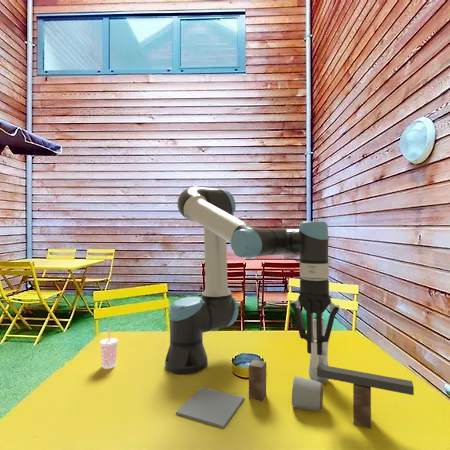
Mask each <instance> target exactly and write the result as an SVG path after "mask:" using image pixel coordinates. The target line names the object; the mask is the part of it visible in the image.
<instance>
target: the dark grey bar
mask: <svg viewBox="0 0 450 450" xmlns="http://www.w3.org/2000/svg"><path fill="white" fill-rule="evenodd" d="M317 377H322V378H327V379H329V380H332V381H339V382H343V383H344V382H345V383H348V384H349V383H350V384H358V385H363V386H368V387H371V388H374V389H380V390H385V391H389V392H395V393H400V394H404V395H405V394H406V395H409V396H414V394H415V392H414V391H415V389H414V388H415V387H414V383H413V381H412V380H409V379H404V378H403V379H402V378H397V377H391V376H385V375H381V374H375V373H369V372H363V371H359V370H352V369H347V368H341V367H335V366H330V365H328V366H325V365H320V364H319V365H318V368H317Z"/></svg>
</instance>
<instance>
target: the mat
mask: <svg viewBox="0 0 450 450" xmlns="http://www.w3.org/2000/svg"><path fill="white" fill-rule="evenodd" d="M244 401H245V397H244V396H240V395H236V394H232V393H227V392H224V391H220V390H215V389H213V388H212V389H211V388H207V387H203V386H201V387H200V388H199V389H198V390H197V391H196V392H195V393H194V394H193V395H191V396H190V398H189V399H187V401H186V402H184V403H183V405H181V406H180V407H179V408H178V409H177V410H176V411H175V414H176V416H177V415H178V416H180V417H184V418H187V419H191V420H195V421H197V422H202V423H203V424H207V425H211V426H214V427H217V428H220V429H224V428H226V426H227V425H228V423H229V422H230V420H232V417H233V416H234V415H235V413H236V412H237V410H238V409H239V408H240V406H241V405H242V403H244Z"/></svg>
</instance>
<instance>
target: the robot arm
mask: <svg viewBox="0 0 450 450" xmlns="http://www.w3.org/2000/svg"><path fill="white" fill-rule="evenodd" d="M236 207H237V206H236V200H235V199H234V196H233V194H232V193H231V192H230V191H228V190H227V189H222V188H220V187H219V188H214V187H202V186H201V187H200V186H191V187H187V188H186V189H184V190H183V191H182V192H181V193H180V195H178V199H177V208H178V211H179V213H180V215H182V217H184V219H187V220H189V221H191V222H197V223H198V224H200V225H201V226H202V227H203V229H204V232H203V234H204V235H203V237H204V241H203V242H204V274H205V275H204V277H205V278H204V279H205V280H204V281H205V283H204V284H205V289H204V291H202V292H201V297H199V296H187V297H182V298H180V299H176V300H175V301H173V302H172V304H170V310H169V347H168V349H167V354H166V356H165V360H164V367H165V370H166V371H168V372H169V373H172V374H175V375H184V376H185V375H193V374H196V373H200V372H201V371H204V370H205V369H206V368H207V366H208V355H207V352H206V349H205V346H204V343H203V342H204V341H203V334H204V333H207V332H212V331H215V330H218V329H224V328H227V327H229V326H232V325H233V324H234V323H235V322H236V320H237V318H238V316H239V304H238V302H237V299H236V298H235V296H233V295H232V291H231V290H230V289H229V288H228V287H229V286H228V258H227V256H228V252H227V251H228V249H227V243H229V244H230V247H231V250H232V251H233V254H234V255H235V256H237V257H239V258H247V259H248V258H249V259H252V258H254V257H255V258H257V257H266V256H278V255H280V256H281V255H293V256H296V255H297V256H299V276H300V279H299V296H298V298H297V299H296V300H293V301H291V303H290V304H289V305H290V308H291V310H292V311H293V314H294V318H295V321H296V326H297V329H298V333H299V337H300V339H301V340H305V341H306V351H307V354H311V367H312V368H317V367H318V364H319V358H318V355H321V354H322V352H323V351H322V343H323V342H328V340H329V341H330V337H331V333H332V329H333V325H334V322H335V318H336V317H335V316H336V315H337V313H338V312H339V310H340V305H338V304H335V303H333V302H332V299H331V297H330V282H329V279H328V278H329V277H330V276H329V275H330V271H329V270H330V269H329V266H330V265H329V264H330V263H329V241H330V240H329V239H330V236H329V227H328V223H327V222H325V221H322V220H321V221H320V220H319V221H311V220H310V221H308V220H307V221H301V222H300V223H299V228H281V227H280V228H257V227H254V226H253V225H251V224H249V223H247V222H245V221H243V220H241V219H240V218H237V217H236V216H234V215H235V212H236ZM300 307H302V308H303V309H304V311H305V312H306V328H305V323H304V320H303V315H302V312H301V311H302V310H301V308H300ZM328 307H329V312H330V314H329V317H328V320H327V325H326V327H325V329H326V332H325V336H323V326H322V318H323V313H324V312H325V311H326V310H327V308H328ZM314 314H315V317H316V324H317V340H313V318H314Z"/></svg>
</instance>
